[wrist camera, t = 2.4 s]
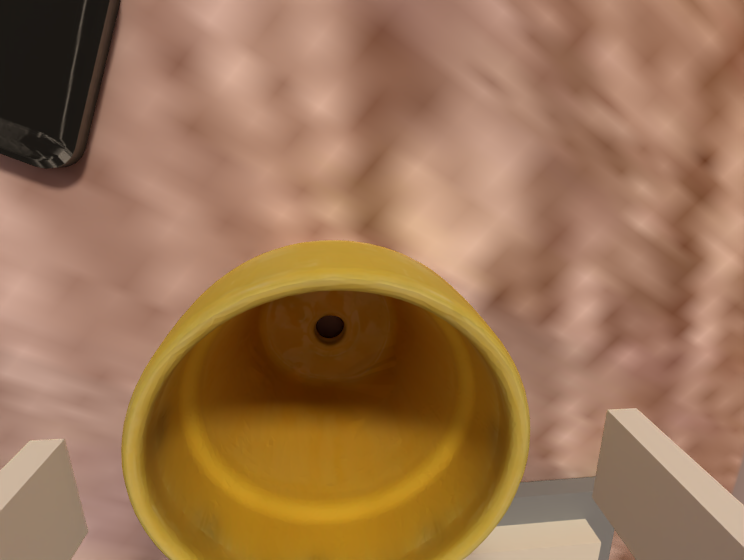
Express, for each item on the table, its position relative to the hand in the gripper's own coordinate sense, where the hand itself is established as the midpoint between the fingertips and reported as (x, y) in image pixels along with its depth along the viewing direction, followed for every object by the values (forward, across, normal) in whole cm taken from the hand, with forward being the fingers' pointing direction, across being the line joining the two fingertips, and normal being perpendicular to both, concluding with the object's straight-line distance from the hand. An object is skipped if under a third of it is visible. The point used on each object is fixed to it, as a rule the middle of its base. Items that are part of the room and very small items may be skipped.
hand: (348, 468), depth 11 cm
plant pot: (+10, 0, 0) cm, 10 cm away
